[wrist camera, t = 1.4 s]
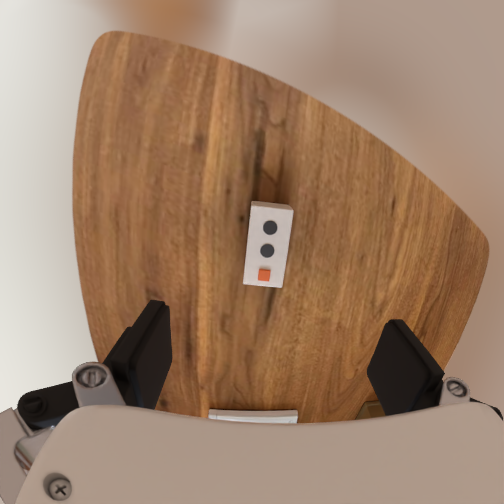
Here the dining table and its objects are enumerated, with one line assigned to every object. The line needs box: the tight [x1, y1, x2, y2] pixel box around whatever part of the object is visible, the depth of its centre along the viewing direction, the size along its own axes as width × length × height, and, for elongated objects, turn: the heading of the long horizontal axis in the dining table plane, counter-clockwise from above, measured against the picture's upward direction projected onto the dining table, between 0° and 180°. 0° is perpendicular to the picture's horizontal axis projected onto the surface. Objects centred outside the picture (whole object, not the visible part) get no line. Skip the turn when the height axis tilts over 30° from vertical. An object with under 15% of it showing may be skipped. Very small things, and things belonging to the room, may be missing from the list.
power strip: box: [243, 201, 294, 288], centre depth 24 cm, size 4×7×3 cm, turn 174°
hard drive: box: [209, 409, 298, 423], centre depth 34 cm, size 2×8×12 cm
